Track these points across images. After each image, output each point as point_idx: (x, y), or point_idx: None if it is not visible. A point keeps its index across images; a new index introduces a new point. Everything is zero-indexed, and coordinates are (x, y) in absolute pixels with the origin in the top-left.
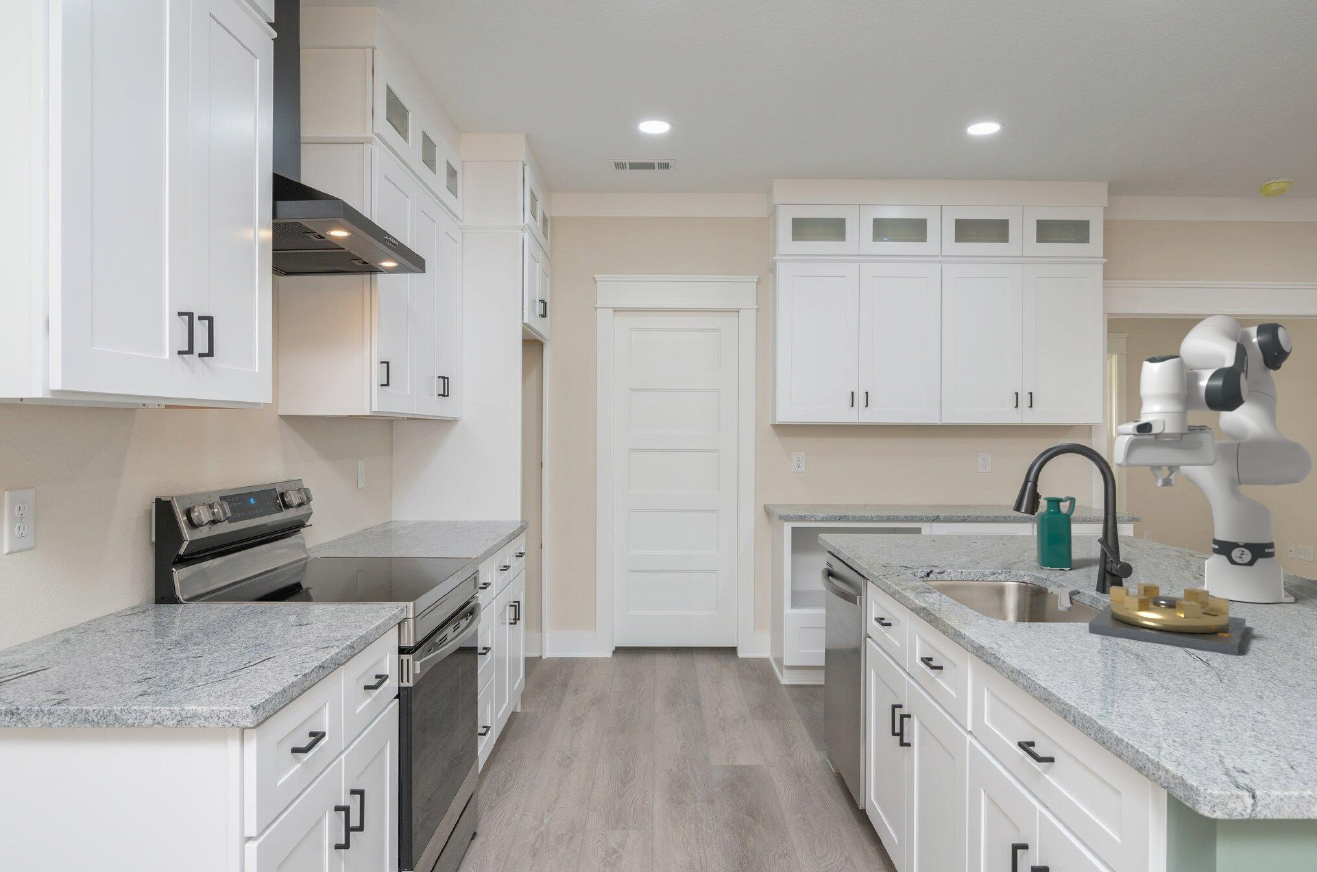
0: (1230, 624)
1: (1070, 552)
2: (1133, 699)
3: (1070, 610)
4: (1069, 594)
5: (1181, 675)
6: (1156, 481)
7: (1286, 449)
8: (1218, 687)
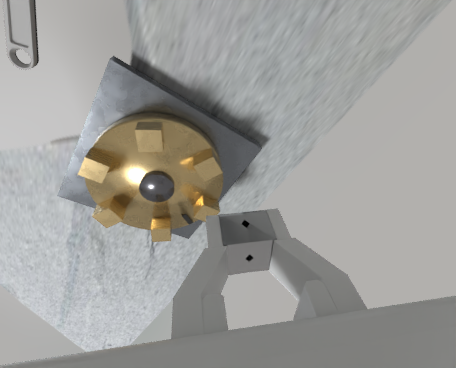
0: (225, 177)
1: None
2: (80, 308)
3: (36, 63)
4: None
5: (123, 274)
6: (207, 234)
7: None
8: (139, 286)
